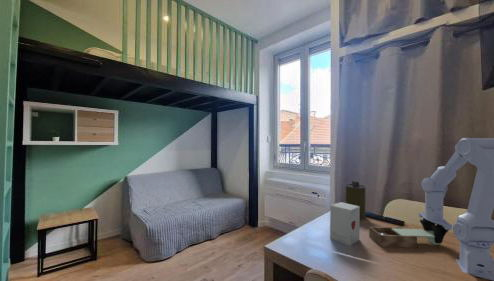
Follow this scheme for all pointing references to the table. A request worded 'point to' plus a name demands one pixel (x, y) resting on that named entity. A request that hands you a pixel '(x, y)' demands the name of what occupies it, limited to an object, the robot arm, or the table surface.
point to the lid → (417, 234)
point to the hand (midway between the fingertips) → (433, 240)
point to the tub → (391, 238)
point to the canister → (356, 196)
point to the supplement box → (344, 223)
